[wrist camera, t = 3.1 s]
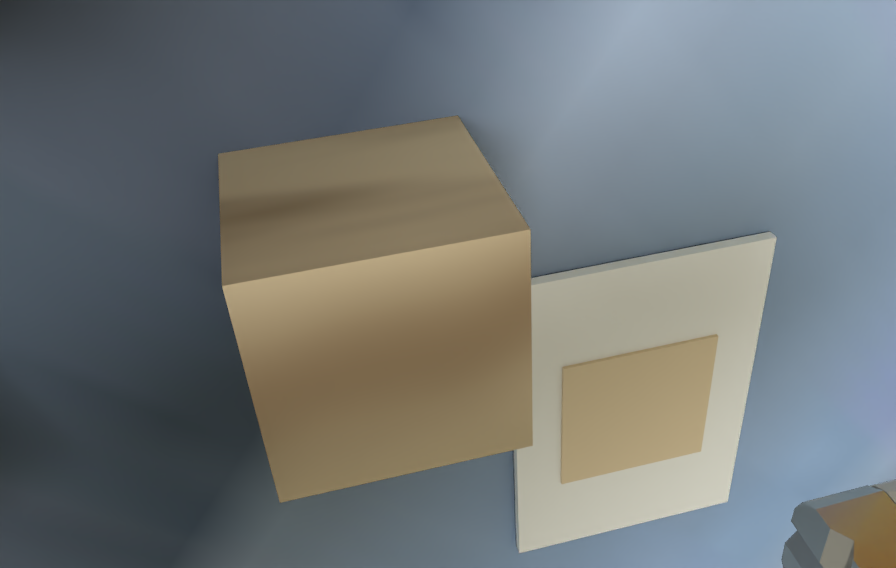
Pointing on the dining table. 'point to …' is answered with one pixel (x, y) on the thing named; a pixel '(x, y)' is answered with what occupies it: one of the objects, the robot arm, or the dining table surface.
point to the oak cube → (377, 303)
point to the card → (638, 388)
